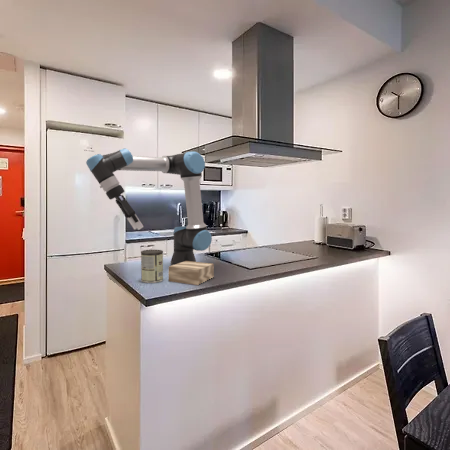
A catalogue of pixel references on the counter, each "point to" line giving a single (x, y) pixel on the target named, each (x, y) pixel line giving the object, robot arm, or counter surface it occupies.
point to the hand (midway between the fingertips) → (138, 228)
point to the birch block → (191, 272)
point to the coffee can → (152, 266)
